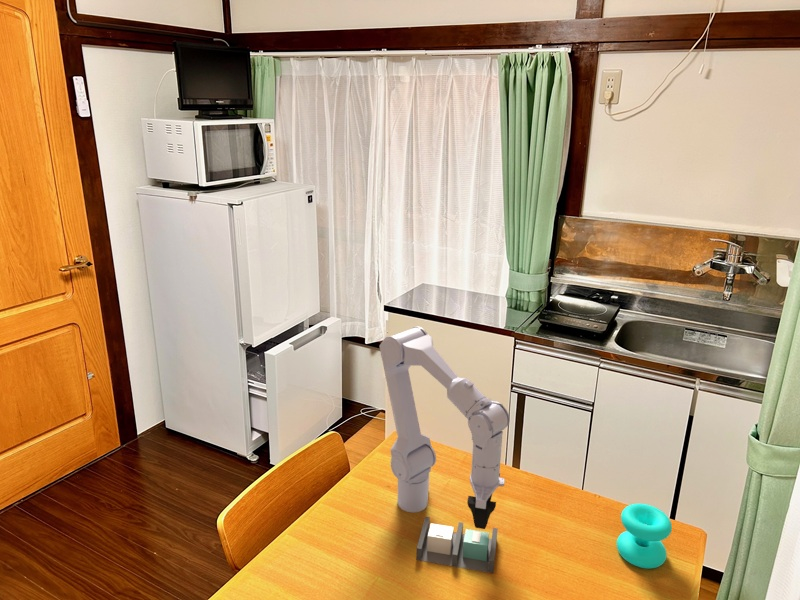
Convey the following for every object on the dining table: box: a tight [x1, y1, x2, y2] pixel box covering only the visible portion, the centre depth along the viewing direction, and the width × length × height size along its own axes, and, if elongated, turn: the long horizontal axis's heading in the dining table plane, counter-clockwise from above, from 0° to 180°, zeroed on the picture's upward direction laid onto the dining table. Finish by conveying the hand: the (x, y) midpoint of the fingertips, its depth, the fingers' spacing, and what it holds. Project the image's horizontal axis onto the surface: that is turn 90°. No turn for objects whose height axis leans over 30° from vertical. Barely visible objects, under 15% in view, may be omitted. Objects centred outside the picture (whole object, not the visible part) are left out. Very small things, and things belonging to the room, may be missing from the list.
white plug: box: [427, 522, 455, 555], centre depth 129 cm, size 4×5×4 cm
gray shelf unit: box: [415, 516, 498, 574], centre depth 128 cm, size 10×16×4 cm, turn 77°
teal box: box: [463, 528, 490, 561], centre depth 127 cm, size 4×5×4 cm
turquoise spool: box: [616, 503, 673, 570], centre depth 128 cm, size 10×10×10 cm
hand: (482, 515), depth 126 cm, fingers open, 7 cm apart
